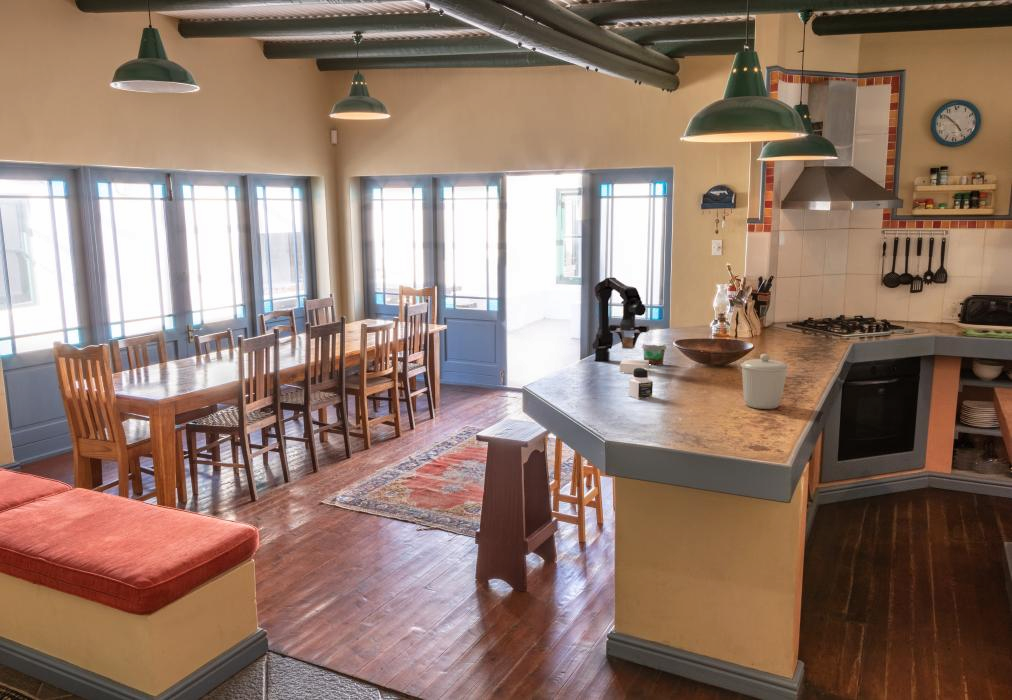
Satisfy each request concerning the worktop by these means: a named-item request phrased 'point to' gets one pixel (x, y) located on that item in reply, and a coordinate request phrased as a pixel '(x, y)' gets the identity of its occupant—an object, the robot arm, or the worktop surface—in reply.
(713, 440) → the worktop surface
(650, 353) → the food container
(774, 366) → the canister
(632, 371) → the plastic box
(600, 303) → the robot arm
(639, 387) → the medicine bottle
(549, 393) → the worktop surface
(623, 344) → the walnut cube
